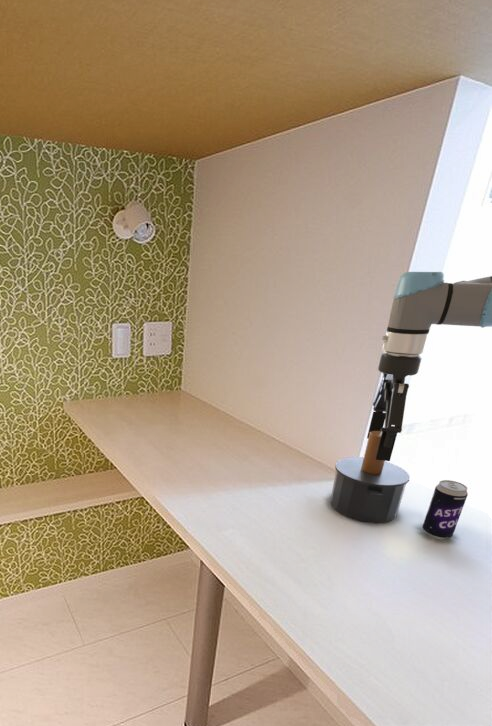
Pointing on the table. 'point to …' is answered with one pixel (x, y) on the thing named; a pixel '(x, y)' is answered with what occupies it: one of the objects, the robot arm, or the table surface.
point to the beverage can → (445, 509)
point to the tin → (365, 501)
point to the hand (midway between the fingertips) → (377, 448)
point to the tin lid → (372, 467)
